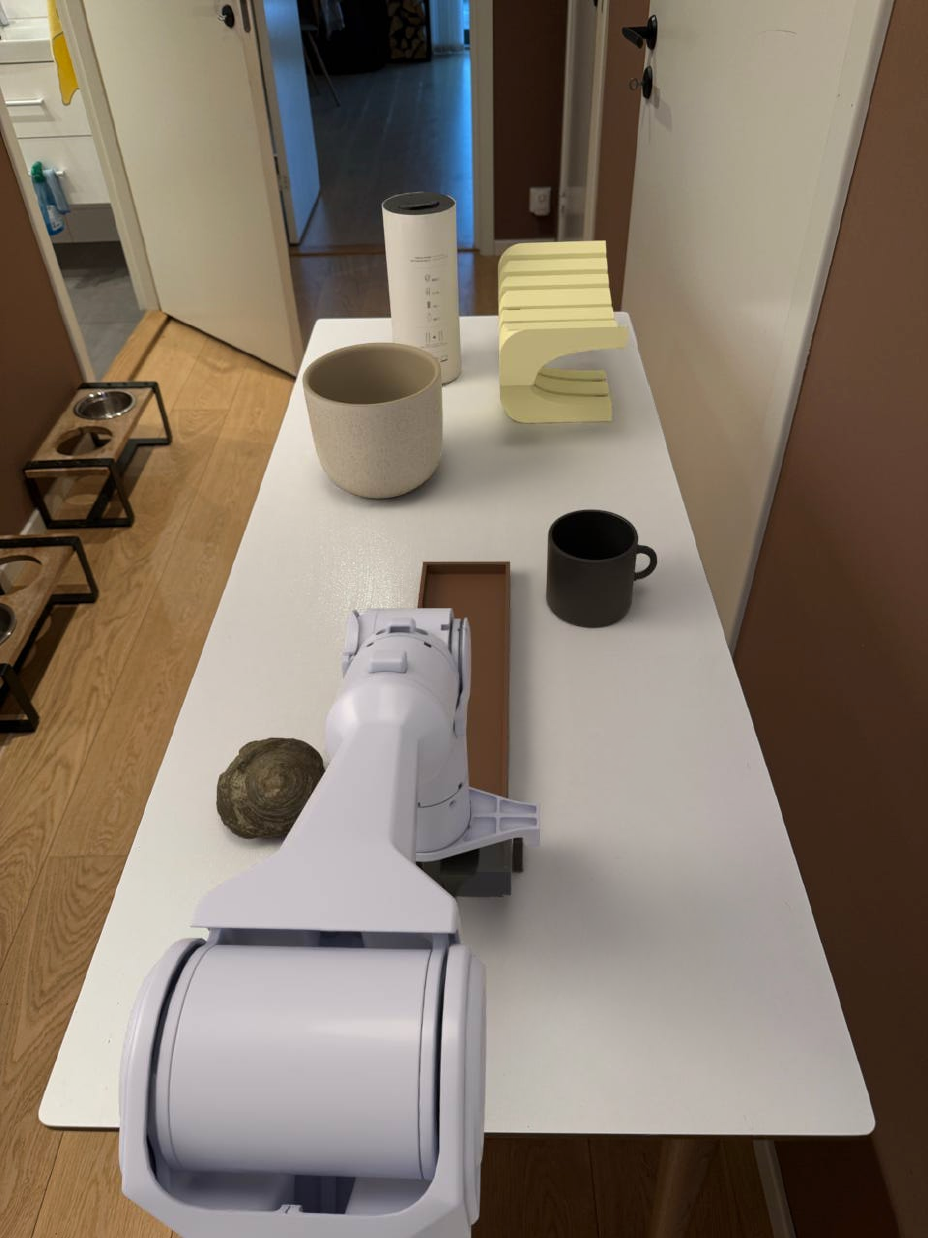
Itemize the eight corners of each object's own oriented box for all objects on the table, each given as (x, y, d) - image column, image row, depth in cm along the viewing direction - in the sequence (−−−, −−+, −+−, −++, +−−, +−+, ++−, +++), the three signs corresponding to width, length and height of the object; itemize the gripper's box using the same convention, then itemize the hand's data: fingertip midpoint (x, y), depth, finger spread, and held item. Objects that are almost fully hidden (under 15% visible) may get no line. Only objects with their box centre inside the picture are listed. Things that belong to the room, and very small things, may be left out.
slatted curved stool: (499, 356, 149) (497, 243, 137) (598, 353, 148) (605, 240, 136) (500, 454, 126) (499, 329, 115) (617, 452, 126) (628, 326, 114)
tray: (507, 865, 78) (507, 851, 76) (388, 862, 78) (386, 849, 77) (510, 574, 107) (510, 561, 105) (424, 574, 107) (422, 561, 106)
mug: (663, 622, 99) (673, 556, 93) (553, 632, 99) (555, 565, 93) (643, 568, 107) (651, 503, 101) (540, 577, 106) (541, 512, 100)
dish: (510, 945, 63) (510, 897, 62) (353, 942, 63) (350, 894, 62) (512, 835, 77) (511, 794, 76) (382, 833, 77) (381, 792, 76)
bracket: (522, 872, 77) (522, 842, 74) (372, 869, 78) (367, 840, 75) (522, 848, 79) (522, 818, 76) (375, 845, 79) (370, 816, 77)
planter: (407, 527, 114) (396, 417, 104) (294, 496, 121) (274, 389, 110) (469, 460, 125) (465, 355, 115) (363, 434, 132) (350, 333, 122)
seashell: (186, 839, 73) (311, 832, 73) (189, 693, 77) (310, 686, 76) (226, 844, 84) (335, 837, 84) (228, 716, 87) (333, 710, 87)
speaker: (460, 356, 149) (453, 185, 132) (465, 386, 141) (458, 208, 124) (395, 360, 149) (379, 189, 132) (396, 391, 141) (379, 213, 124)
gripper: (540, 721, 58) (536, 847, 67) (313, 719, 59) (340, 844, 68) (542, 812, 53) (538, 936, 62) (293, 809, 54) (325, 931, 63)
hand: (434, 894), depth 65 cm, fingers closed on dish, 2 cm apart
